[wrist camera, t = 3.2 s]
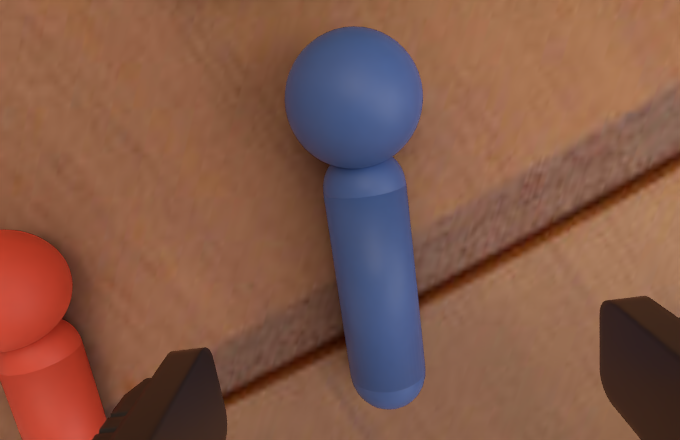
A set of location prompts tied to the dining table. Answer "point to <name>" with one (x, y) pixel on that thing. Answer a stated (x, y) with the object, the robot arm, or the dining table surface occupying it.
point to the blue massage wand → (366, 198)
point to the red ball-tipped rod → (43, 345)
